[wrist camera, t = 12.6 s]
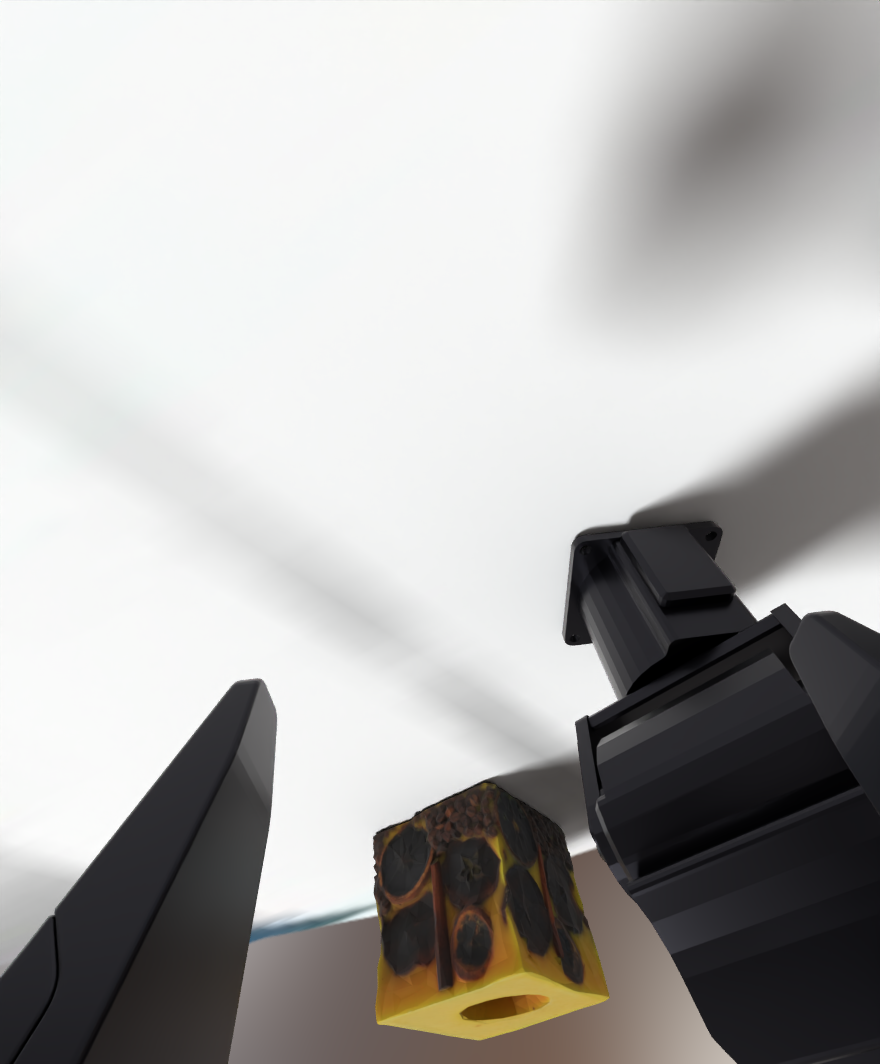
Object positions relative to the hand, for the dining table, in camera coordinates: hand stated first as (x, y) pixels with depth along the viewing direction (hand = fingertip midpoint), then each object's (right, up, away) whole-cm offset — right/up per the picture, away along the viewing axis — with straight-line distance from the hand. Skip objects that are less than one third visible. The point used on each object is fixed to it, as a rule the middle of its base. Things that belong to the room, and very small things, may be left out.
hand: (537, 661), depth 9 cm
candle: (+1, -19, +29) cm, 35 cm away
